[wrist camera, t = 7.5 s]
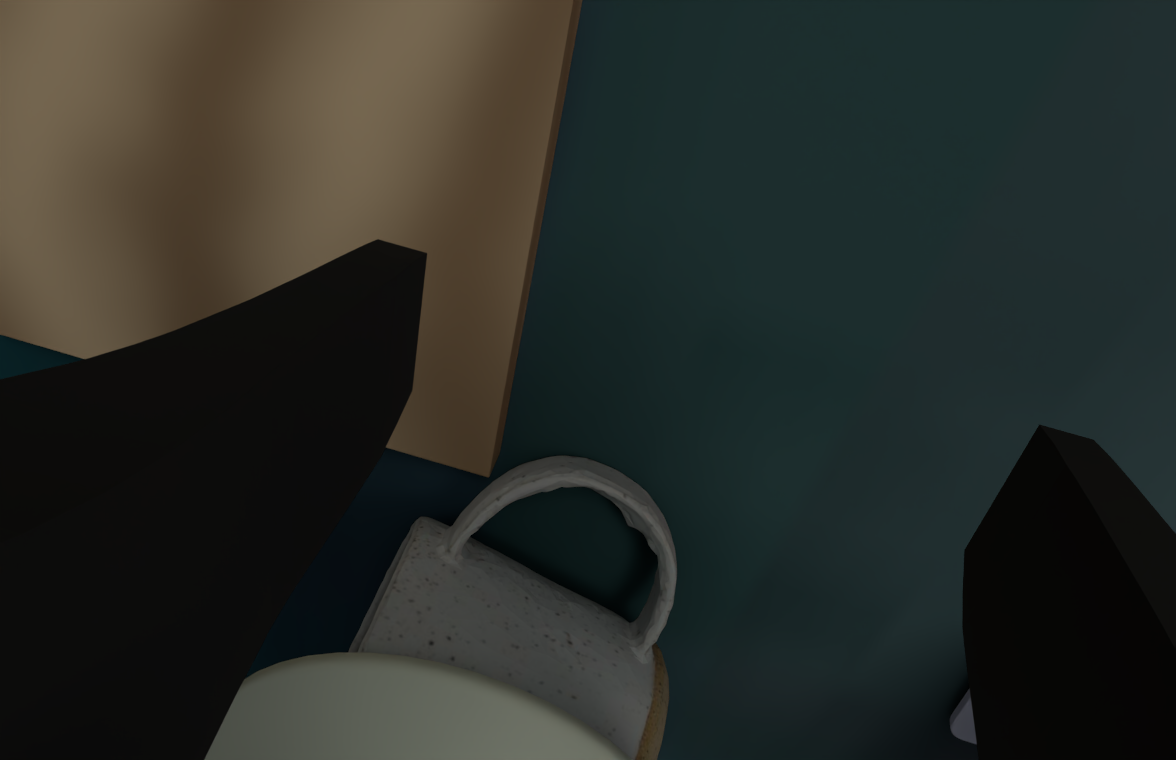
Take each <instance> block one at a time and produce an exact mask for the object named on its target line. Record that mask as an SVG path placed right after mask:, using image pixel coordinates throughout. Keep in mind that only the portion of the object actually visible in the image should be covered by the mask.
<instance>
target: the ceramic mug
mask: <svg viewBox="0 0 1176 760" xmlns="http://www.w3.org/2000/svg"><path fill="white" fill-rule="evenodd" d="M559 487H587V488H591V489H593V490H594V491H596V492H597V493H599V494H601V495H603V496H604V497H606V498H608V499H610V500H611V501H612V502H613V503H614V504H615V505H616V506H617V507H618V508H619V509H621V511H622V513H623V516H624V518H625V520H626V522H627V524H628V526H631V527H633V528H636V529H637V530H639V531H640V532H641V533H643V534H644V536H645V538H646V540H647V542H648V545H649V546H650V548H651V549H652V550H653V551H654V552H655V554H656V555H657V557H658V568H657V571H656V573H655V582H654V584H653V587H652V589H651V592H650V594H649V597H648V600H647V603H646V604H645V606H644V608H643V610H642V612H641V613H640V615H639V617H638V618H637V619H636V620H635V621H634V622H631V623H629V622H628V621H626V620H625V619H624V618H622V617H621V616H619V615H618V614H616V613H615V612H613V611H611V610H609V609H607V608H605V607H603V606H601V605H599V604H597V603H595V602H593V601H591V600H589V599H587V598H585V597H583V596H581V595H579V594H577V593H575V592H573V591H570V590H568V589H566V588H564V587H562V586H560V585H558V584H556V583H554V582H552V581H550V580H548V579H547V578H545V577H543V576H541V575H539V574H537V573H536V572H534V571H532V570H530V569H529V568H527V567H525V566H524V565H522V564H520V563H518V562H516V561H514V560H512V559H511V558H509V557H507V556H505V555H503V554H501V553H500V552H498V551H496V550H494V549H492V548H490V547H488V546H485V545H483V544H482V543H480V542H478V541H477V540H475V539H473V538H471V537H470V536H471V535H472V534H473V533H475V532H476V531H478V530H479V529H480V527H481V526H482V525H483V524H484V523H485V522H487V521H488V520H489V519H490V518H491V517H493V516H494V515H495V514H496V513H498V512H499V511H500V510H501V509H502V508H504V507H505V506H507V505H508V504H510V503H512V502H514V501H516V500H518V499H521V498H525V497H528V496H530V495H533V494H536V493H539V492H548V491H552V490H554V489H557V488H559ZM676 579H677V562H676V553H675V547H674V544H673V540H672V537H671V533H670V530H669V527H668V525H667V523H666V520H665V518H664V516H663V514H662V513H661V511H660V510H659V508H658V506H657V505H656V504H655V502H654V501H653V500H652V498H651V497H650V495H649V494H648V493H647V492H646V491H645V490H644V489H643V488H642V487H640V486H639V485H638V484H637V483H635V482H634V481H632V480H631V479H630V478H628V477H627V476H625V475H624V474H622V473H620V472H619V471H617V470H615V469H613V468H611V467H609V466H606V465H604V464H601V463H599V462H596V461H593V460H591V459H588V458H582V457H573V456H553V457H547V458H543V459H539V460H535V461H531V462H527V463H524V464H521V465H519V466H517V467H515V468H513V469H511V470H509V471H508V472H506V473H505V474H503V475H502V476H500V477H499V478H497V479H496V480H494V481H493V482H492V483H491V484H490V485H488V486H487V487H486V488H485V489H484V490H483V491H482V492H480V493H479V494H478V495H477V497H476V498H475V499H474V500H473V501H472V502H471V503H470V504H469V505H468V506H467V507H466V508H465V509H464V510H463V511H462V512H461V514H460V515H459V517H458V518H457V520H456V521H455V523H454V524H453V525H452V526H451V527H450V526H448V525H445V524H443V523H441V522H439V521H437V520H434V519H432V518H429V517H420V518H418V519H417V520H416V521H415V522H414V523H413V524H412V526H411V528H410V531H409V533H408V535H407V537H406V538H405V539H404V541H403V542H402V544H401V546H400V548H399V550H398V552H397V554H396V556H395V558H394V560H393V562H392V564H391V566H390V568H389V569H388V570H387V572H386V575H385V578H384V580H383V582H382V583H381V585H380V587H379V589H378V592H377V594H376V596H375V598H374V600H373V602H372V604H371V606H370V608H369V610H368V612H367V614H366V616H365V618H364V620H363V622H362V625H361V627H360V629H359V631H358V633H357V635H356V637H355V639H354V640H353V642H352V644H351V646H350V649H349V651H348V653H380V654H390V655H401V656H408V657H413V658H419V659H424V660H430V661H435V662H440V663H444V664H448V665H451V666H455V667H459V668H462V669H466V670H470V671H473V672H477V673H480V674H483V675H485V676H488V677H491V678H494V679H496V680H499V681H502V682H505V683H507V684H510V685H513V686H515V687H517V688H520V689H522V690H524V691H526V692H528V693H530V694H533V695H535V696H537V697H539V698H541V699H543V700H546V701H548V702H550V703H551V704H553V705H555V706H557V707H559V708H560V709H562V710H564V711H566V712H567V713H569V714H571V715H573V716H574V717H576V718H578V719H580V720H581V721H583V722H584V723H586V724H587V725H589V726H590V727H591V728H593V729H594V730H596V731H597V732H599V733H600V734H602V735H603V736H604V737H606V738H607V739H609V740H610V741H611V742H612V743H614V744H615V745H616V746H617V747H618V748H620V749H621V750H622V751H623V752H624V753H625V754H627V755H628V756H629V757H630V758H631V759H633V760H657V757H658V753H659V750H660V746H661V743H662V739H663V733H664V727H665V721H666V716H667V710H668V702H669V681H668V674H667V670H666V666H665V663H664V660H663V656H662V653H661V650H660V649H659V647H658V646H657V644H656V643H655V642H656V641H657V639H658V637H659V635H660V633H661V631H662V630H663V628H664V627H665V626H666V623H667V619H668V615H669V613H670V610H671V608H672V606H673V600H674V593H675V585H676Z"/></svg>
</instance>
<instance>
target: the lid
mask: <svg viewBox="0 0 1176 760" xmlns="http://www.w3.org/2000/svg"><path fill="white" fill-rule="evenodd" d="M204 760H633V759H631V758H630V757H629V756H628V755H627V754H625V753H624V752H623V751H622V750H621V749H620V748H618V747H617V746H616V745H615V744H614V743H612V742H611V741H610V740H609V739H607V738H606V737H604V736H603V735H602V734H600V733H599V732H597V731H596V730H594V729H593V728H591V727H590V726H589V725H587V724H586V723H584V722H583V721H581V720H580V719H578V718H576V717H574V716H573V715H571V714H569V713H567V712H566V711H564V710H562V709H560V708H559V707H557V706H555V705H553V704H551V703H550V702H548V701H546V700H543V699H541V698H539V697H537V696H535V695H533V694H530V693H528V692H526V691H524V690H522V689H520V688H517V687H515V686H513V685H510V684H507V683H505V682H502V681H499V680H496V679H494V678H491V677H488V676H485V675H483V674H480V673H477V672H473V671H470V670H466V669H462V668H459V667H455V666H451V665H448V664H444V663H440V662H435V661H430V660H424V659H419V658H413V657H408V656H401V655H390V654H380V653H328V654H319V655H310V656H304V657H300V658H296V659H292V660H287V661H283V662H279V663H277V664H275V665H272V666H270V667H267V668H265V669H262V670H260V671H257V672H256V673H254V674H252V675H251V676H249V677H248V678H246V679H244V681H243V683H242V684H241V686H240V688H239V690H238V692H237V694H236V696H235V698H234V700H233V702H232V704H231V706H230V708H229V710H228V712H227V714H226V716H225V718H224V720H223V723H222V725H221V727H220V729H219V731H218V733H217V735H216V737H215V739H214V741H213V743H212V745H211V747H210V749H209V751H208V753H207V755H206V757H205V759H204Z"/></svg>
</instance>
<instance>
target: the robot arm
mask: <svg viewBox="0 0 1176 760" xmlns="http://www.w3.org/2000/svg"><path fill="white" fill-rule="evenodd" d="M426 260H427V253H425V252H422V251H418V250H415V249H411V248H408V247H404V246H400V245H397V244H393V243H390V242H386V241H383V240H379V239H377V240H375V241H372V242H370V243H367V244H365V245H363V246H361V247H359V248H357V249H354V250H352V251H350V252H348V253H346V254H344V255H342V256H340V257H338V258H336V259H334V260H332V261H330V262H328V263H326V264H324V265H322V266H320V267H318V268H316V269H313V270H311V271H309V272H307V273H305V274H303V275H301V276H299V277H297V278H295V279H293V280H290V281H288V282H286V283H284V284H282V285H280V286H278V287H276V288H273V289H271V290H269V291H267V292H265V293H263V294H261V295H258V296H256V297H254V298H252V299H250V300H247V301H245V302H243V303H240V304H238V305H235V306H233V307H230V308H228V309H225V310H223V311H221V312H218V313H216V314H213V315H211V316H208V317H206V318H203V319H201V320H199V321H196V322H194V323H191V324H189V325H186V326H184V327H181V328H179V329H177V330H174V331H171V332H168V333H166V334H163V335H160V336H157V337H154V338H151V339H148V340H145V341H142V342H140V343H137V344H134V345H130V346H127V347H124V348H121V349H117V350H114V351H111V352H107V353H104V354H101V355H98V356H94V357H91V358H88V359H84V360H80V361H77V362H73V363H69V364H65V365H61V366H57V367H52V368H48V369H44V370H39V371H35V372H31V373H26V374H22V375H18V376H13V377H9V378H5V379H0V760H204V759H205V757H206V755H207V753H208V751H209V749H210V747H211V745H212V743H213V741H214V739H215V737H216V735H217V733H218V731H219V729H220V727H221V725H222V723H223V720H224V718H225V716H226V714H227V712H228V710H229V708H230V706H231V704H232V702H233V700H234V698H235V696H236V694H237V692H238V690H239V688H240V686H241V684H242V683H243V681H244V679H245V677H246V675H247V673H248V671H249V669H250V667H251V665H252V663H253V661H254V659H255V657H256V655H257V653H258V651H259V650H260V648H261V646H262V644H263V642H264V640H265V638H266V636H267V634H268V632H269V630H270V628H271V626H272V625H273V623H274V621H275V620H276V618H277V616H278V615H279V613H280V611H281V610H282V608H283V606H284V605H285V603H286V601H287V600H288V598H289V596H290V595H291V593H292V592H293V590H294V589H295V587H296V586H297V584H298V582H299V581H300V579H301V578H302V576H303V575H304V573H305V572H306V570H307V569H308V567H309V566H310V564H311V563H312V561H313V560H314V558H315V557H316V555H317V554H318V552H319V551H320V549H321V548H322V546H323V545H324V543H325V542H326V540H327V539H328V537H329V536H330V534H331V533H332V531H333V530H334V528H335V527H336V525H337V524H338V522H339V521H340V519H341V518H342V516H343V515H344V513H345V512H346V510H347V509H348V507H349V505H350V504H351V502H352V501H353V499H354V498H355V496H356V495H357V493H358V492H359V490H360V489H361V487H362V486H363V484H364V482H365V481H366V479H367V478H368V476H369V475H370V473H371V472H372V470H373V469H374V467H375V465H376V464H377V462H378V461H379V459H380V458H381V456H382V454H383V452H384V450H385V448H386V446H387V444H388V442H389V439H390V437H391V435H392V433H393V431H394V429H395V427H396V425H397V423H398V421H399V419H400V416H401V414H402V412H403V410H404V408H405V406H406V403H407V401H408V399H409V397H410V395H411V393H412V390H413V381H414V372H415V363H416V353H417V344H418V335H419V325H420V316H421V307H422V298H423V288H424V279H425V270H426ZM963 636H964V646H965V655H966V663H967V671H968V680H969V690H968V691H967V693H966V694H965V696H964V697H963V699H962V700H961V701H960V703H959V704H958V706H957V707H956V709H955V710H954V712H953V713H952V715H951V717H950V729H951V732H952V734H953V735H954V736H955V737H957V738H959V739H961V740H964V741H967V742H970V743H974V744H977V750H978V757H979V760H1176V534H1175V532H1174V531H1173V530H1172V529H1171V528H1170V527H1169V525H1168V524H1167V523H1166V522H1165V521H1164V519H1163V518H1162V517H1161V516H1160V515H1159V513H1158V512H1157V511H1156V510H1155V509H1154V507H1153V506H1152V505H1151V504H1150V503H1149V501H1148V500H1147V499H1146V498H1145V497H1144V495H1143V494H1142V493H1141V492H1140V491H1139V489H1138V488H1137V487H1136V486H1135V485H1134V484H1133V482H1132V481H1131V480H1130V479H1129V478H1128V477H1127V475H1126V474H1125V473H1124V472H1123V471H1122V470H1121V468H1120V467H1119V466H1118V465H1117V464H1116V463H1115V462H1114V460H1113V459H1112V458H1111V457H1110V456H1109V455H1108V454H1107V453H1106V452H1105V451H1104V450H1103V449H1102V448H1101V447H1100V446H1099V445H1098V444H1097V443H1096V442H1095V441H1094V440H1092V439H1089V438H1085V437H1082V436H1078V435H1074V434H1071V433H1067V432H1064V431H1060V430H1057V429H1053V428H1049V427H1046V426H1042V425H1039V426H1038V428H1037V430H1036V431H1035V433H1034V435H1033V436H1032V438H1031V440H1030V441H1029V443H1028V445H1027V446H1026V448H1025V450H1024V451H1023V453H1022V455H1021V456H1020V458H1019V460H1018V461H1017V463H1016V465H1015V466H1014V468H1013V470H1012V471H1011V473H1010V475H1009V476H1008V478H1007V480H1006V482H1005V483H1004V485H1003V487H1002V488H1001V490H1000V492H999V493H998V495H997V497H996V498H995V500H994V502H993V503H992V505H991V507H990V508H989V510H988V512H987V513H986V515H985V517H984V518H983V520H982V522H981V523H980V525H979V527H978V528H977V530H976V532H975V533H974V535H973V537H972V539H971V540H970V542H969V544H968V545H967V547H966V549H965V553H964V577H963Z"/></svg>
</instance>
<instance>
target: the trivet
mask: <svg viewBox="0 0 1176 760" xmlns="http://www.w3.org/2000/svg"><path fill="white" fill-rule="evenodd" d="M581 5H582V0H0V334H1V335H4V336H8V337H11V338H14V339H18V340H21V341H25V342H28V343H31V344H35V345H38V346H42V347H45V348H48V349H52V350H55V351H59V352H62V353H66V354H69V355H72V356H76V357H79V358H83V359H88V358H91V357H94V356H98V355H101V354H104V353H107V352H111V351H114V350H117V349H121V348H124V347H127V346H130V345H134V344H137V343H140V342H142V341H145V340H148V339H151V338H154V337H157V336H160V335H163V334H166V333H168V332H171V331H174V330H177V329H179V328H181V327H184V326H186V325H189V324H191V323H194V322H196V321H199V320H201V319H203V318H206V317H208V316H211V315H213V314H216V313H218V312H221V311H223V310H225V309H228V308H230V307H233V306H235V305H238V304H240V303H243V302H245V301H247V300H250V299H252V298H254V297H256V296H258V295H261V294H263V293H265V292H267V291H269V290H271V289H273V288H276V287H278V286H280V285H282V284H284V283H286V282H288V281H290V280H293V279H295V278H297V277H299V276H301V275H303V274H305V273H307V272H309V271H311V270H313V269H316V268H318V267H320V266H322V265H324V264H326V263H328V262H330V261H332V260H334V259H336V258H338V257H340V256H342V255H344V254H346V253H348V252H350V251H352V250H354V249H357V248H359V247H361V246H363V245H365V244H367V243H370V242H372V241H375V240H377V239H379V240H383V241H386V242H390V243H393V244H397V245H400V246H404V247H408V248H411V249H415V250H418V251H422V252H425V253H427V260H426V270H425V279H424V288H423V298H422V307H421V316H420V325H419V335H418V344H417V353H416V363H415V372H414V381H413V390H412V393H411V395H410V397H409V399H408V401H407V403H406V406H405V408H404V410H403V412H402V414H401V416H400V419H399V421H398V423H397V425H396V427H395V429H394V431H393V433H392V435H391V437H390V439H389V442H388V444H387V446H386V448H390V449H393V450H397V451H400V452H403V453H407V454H410V455H414V456H417V457H421V458H424V459H427V460H431V461H434V462H438V463H441V464H444V465H448V466H451V467H455V468H458V469H462V470H465V471H468V472H472V473H475V474H479V475H482V476H485V477H489V476H490V474H491V472H492V469H493V467H494V465H495V463H496V461H497V458H498V456H499V454H500V449H501V444H502V438H503V433H504V427H505V422H506V416H507V411H508V405H509V400H510V394H511V389H512V383H513V378H514V372H515V367H516V361H517V356H518V350H519V345H520V339H521V334H522V328H523V323H524V317H525V312H526V306H527V301H528V295H529V290H530V284H531V279H532V273H533V268H534V262H535V257H536V252H537V246H538V241H539V235H540V230H541V224H542V219H543V213H544V208H545V202H546V197H547V191H548V186H549V180H550V175H551V169H552V164H553V158H554V153H555V147H556V142H557V136H558V131H559V125H560V120H561V114H562V109H563V103H564V98H565V92H566V87H567V81H568V76H569V70H570V65H571V60H572V54H573V49H574V43H575V38H576V32H577V27H578V21H579V16H580V10H581Z"/></svg>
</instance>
